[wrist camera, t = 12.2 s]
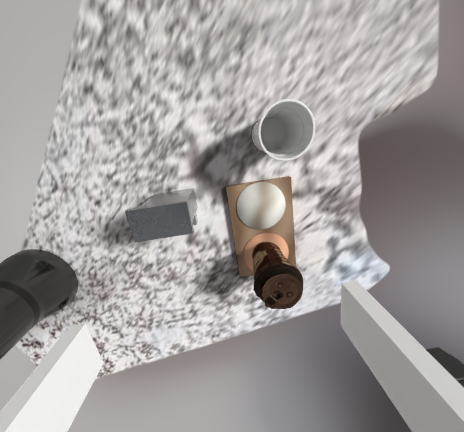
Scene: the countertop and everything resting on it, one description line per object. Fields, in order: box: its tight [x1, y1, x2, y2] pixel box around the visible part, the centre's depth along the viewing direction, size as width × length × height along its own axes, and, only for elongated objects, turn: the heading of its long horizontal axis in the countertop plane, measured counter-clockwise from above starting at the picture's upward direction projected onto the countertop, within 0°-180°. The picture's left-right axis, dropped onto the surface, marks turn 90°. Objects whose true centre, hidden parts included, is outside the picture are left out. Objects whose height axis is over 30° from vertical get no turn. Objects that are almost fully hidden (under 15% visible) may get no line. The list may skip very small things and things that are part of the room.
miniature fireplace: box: [125, 188, 198, 242], centre depth 39 cm, size 9×8×13 cm
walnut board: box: [226, 176, 296, 277], centre depth 47 cm, size 13×21×2 cm, turn 8°
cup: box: [252, 99, 315, 161], centre depth 36 cm, size 8×8×12 cm
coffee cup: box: [252, 242, 303, 309], centre depth 42 cm, size 9×8×13 cm
